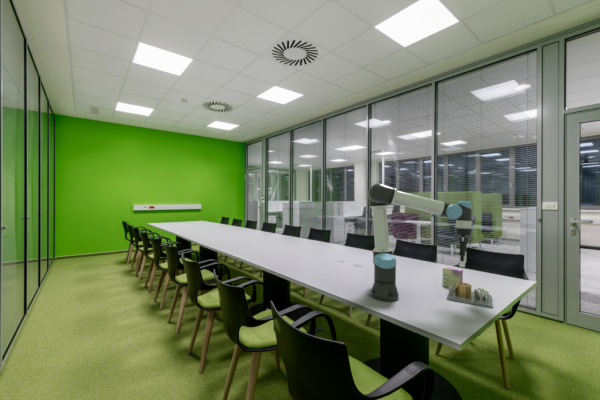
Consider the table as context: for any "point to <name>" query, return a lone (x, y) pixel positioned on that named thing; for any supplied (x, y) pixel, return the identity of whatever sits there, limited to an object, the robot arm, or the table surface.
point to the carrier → (472, 297)
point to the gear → (463, 289)
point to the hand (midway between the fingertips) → (462, 264)
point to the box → (451, 276)
